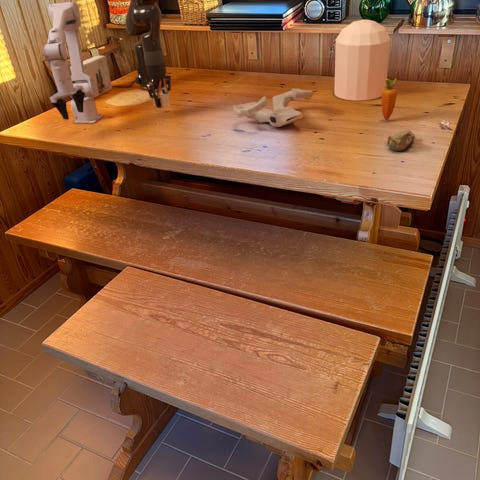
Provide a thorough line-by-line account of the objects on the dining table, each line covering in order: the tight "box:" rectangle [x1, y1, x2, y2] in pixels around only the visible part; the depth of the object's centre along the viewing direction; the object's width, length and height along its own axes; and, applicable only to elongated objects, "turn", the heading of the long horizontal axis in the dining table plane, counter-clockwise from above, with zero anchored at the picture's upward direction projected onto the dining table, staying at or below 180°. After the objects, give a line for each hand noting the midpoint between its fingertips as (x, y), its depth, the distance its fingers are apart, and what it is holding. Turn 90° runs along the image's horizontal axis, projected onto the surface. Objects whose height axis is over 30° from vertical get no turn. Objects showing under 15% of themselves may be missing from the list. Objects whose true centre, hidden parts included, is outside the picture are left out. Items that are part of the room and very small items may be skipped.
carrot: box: [380, 78, 398, 122], centre depth 161 cm, size 5×5×15 cm
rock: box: [387, 129, 416, 152], centre depth 146 cm, size 11×6×10 cm
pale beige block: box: [152, 92, 172, 110], centre depth 187 cm, size 5×5×4 cm
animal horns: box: [231, 88, 314, 128], centre depth 171 cm, size 28×26×12 cm
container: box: [333, 19, 391, 102], centre depth 186 cm, size 21×21×28 cm
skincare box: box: [69, 54, 113, 99], centre depth 218 cm, size 21×6×16 cm, turn 158°
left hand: (73, 115), depth 173 cm, fingers open, 7 cm apart
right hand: (162, 105), depth 188 cm, fingers closed on pale beige block, 4 cm apart
